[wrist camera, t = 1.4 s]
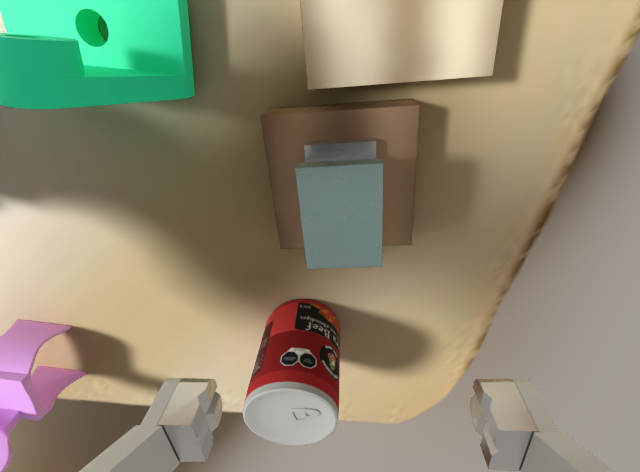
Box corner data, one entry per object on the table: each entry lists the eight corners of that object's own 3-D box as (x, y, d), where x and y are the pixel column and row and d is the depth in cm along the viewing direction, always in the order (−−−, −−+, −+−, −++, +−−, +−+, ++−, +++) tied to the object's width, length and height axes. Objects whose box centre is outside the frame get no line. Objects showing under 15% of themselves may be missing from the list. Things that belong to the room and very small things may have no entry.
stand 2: (286, 232, 33) (280, 249, 30) (268, 109, 27) (260, 116, 25) (405, 227, 32) (411, 244, 29) (412, 98, 26) (419, 105, 24)
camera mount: (191, -28, 23) (96, -70, 14) (200, 93, 27) (129, 119, 18) (15, -45, 24) (-186, -98, 15) (48, 78, 27) (-96, 96, 18)
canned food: (353, 333, 38) (355, 431, 29) (293, 358, 41) (278, 455, 31) (314, 285, 35) (303, 375, 26) (253, 315, 38) (222, 407, 28)
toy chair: (79, 323, 40) (-49, 459, 27) (95, 374, 45) (-9, 512, 31) (7, 314, 40) (-155, 446, 27) (30, 366, 45) (-100, 501, 32)
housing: (313, 227, 29) (306, 268, 23) (305, 141, 25) (295, 168, 20) (375, 224, 28) (381, 266, 23) (374, 137, 25) (383, 163, 20)
